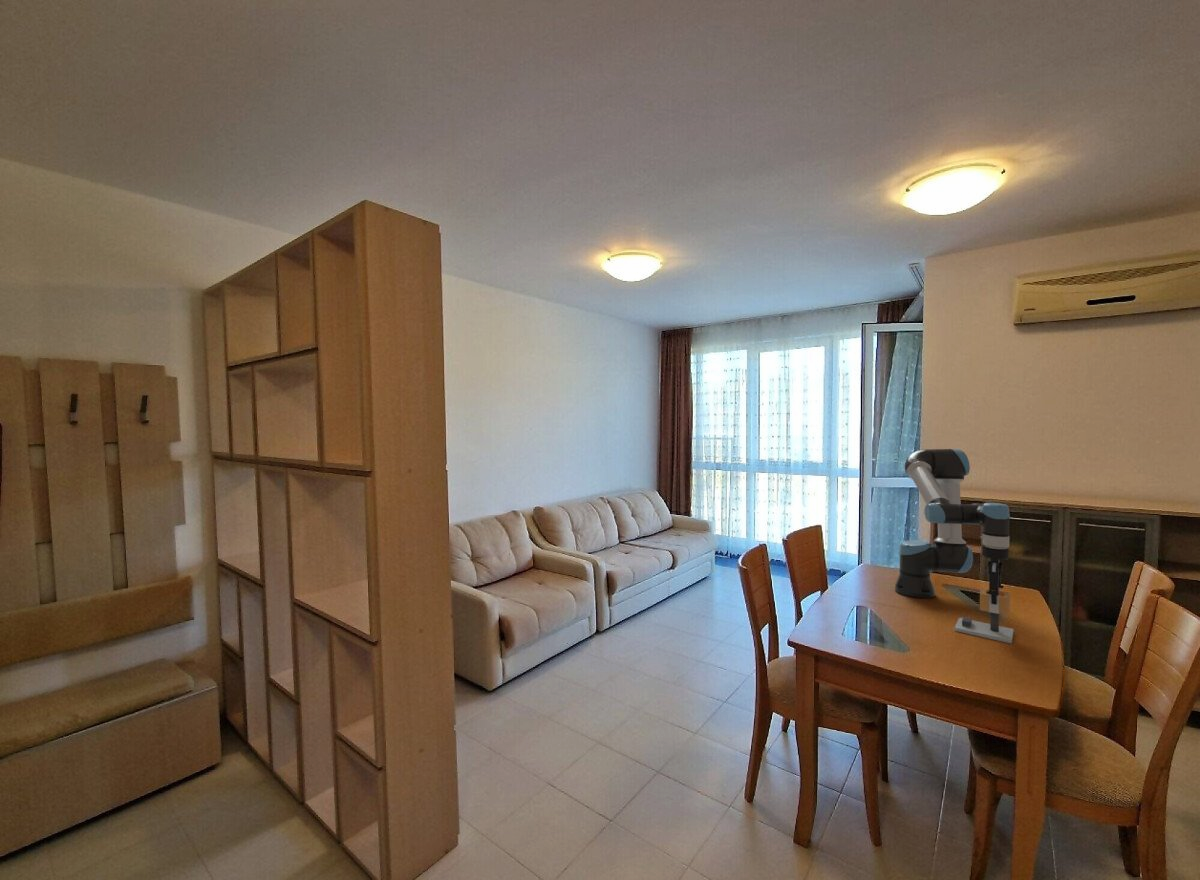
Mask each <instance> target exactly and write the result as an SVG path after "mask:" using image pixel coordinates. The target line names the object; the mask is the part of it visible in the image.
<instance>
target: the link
mask: <svg viewBox="0 0 1200 880" xmlns="http://www.w3.org/2000/svg"><path fill="white" fill-rule="evenodd" d="M987 592H989V588H983V587H981V589H980V593H979V610H980V611H983V612H988V613H990V612H989V594H987ZM1010 612H1011V592H1008V591H1002V590H1001V591H999V615H1004V616H1010Z"/></svg>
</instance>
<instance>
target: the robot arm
mask: <svg viewBox="0 0 1200 880" xmlns="http://www.w3.org/2000/svg"><path fill="white" fill-rule="evenodd" d="M970 470H971V464H970V460H969V458H968V456H967V454H966V452H965V451H963V450H961V449H954V448H944V449H943V448H934V449H933V448H931V449H928V448H927V449H926V448H921V449H919V450H916V451H913V452H912V453H911V454H910V455H909V456H908V457H907V458H906V460H905V463H904V472H905V474H906V476H908V478H909V479H910V480H912V481H913V482H914V485H915V486H916V488H917V490H918V491H919V493H920V496H921V497H922V499H923V500H924V503H925V506H924V510H923V511H924V512H923V513H924V517H925V518H924V519H925V520H926V521H927V522H928V523H934V524H937V537H935V538H934V539H933V543H934V544H933V543H931V542H930V541H929V540H926V539H911V540H910V539H909V540H904V541H901V543H900V544H899V551H898V554H899V574H898V577H897V579H896V582H895V584H894V591H895V592H896V593H898V594H900V595H902V596H906V597H910V598H916V599H932V598H934V597H935V596H936V590H935V586H934V585H933V582H932V578H931V572H942V573H943V572H944V573H954V574H956V573H960V574H961V573H968V571H970V569H971V568H972V566H973V562H974V556H973V555H974V554H973V550H972V548H971V547H970V546H969V545H967V541H965V539H963V538H962V537H963V533H962V532H963V531H962V530H963V529H962V525H977V526H978V525H979V526H982V527H981V528H982V531H981V533H982V535H980V536H979V537H980V539H982V542H981V543H982V545H983V546H981V549H982V550H981V555H982V556H983V557H984V558H987V559H990V560H988V562H987V568H988V575H989V580H988V581H989V582H988V583H989V586H988V589H989V592H987V594H989V612H988V613H990V612H992V613H997V614H999V591H1002V589H1004V585H1002V574H1003V565H1004V562H1002V561H1003V560H1008V559H1009V558H1010V549H1009V548H1010V517H1011V514H1010V507H1009V505H1007V504H1006V503H1000V502H985V503H980V502H979V503H977V502H976V503H972V504H966V503H965V504H962V503H961V500H962V499H961V483H962V482H963V481H964V480H965V477H966V476H968V475H969V473H970ZM999 615H1000V614H999Z"/></svg>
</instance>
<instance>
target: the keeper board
mask: <svg viewBox="0 0 1200 880" xmlns="http://www.w3.org/2000/svg"><path fill="white" fill-rule="evenodd" d="M989 613H990V614H989V615H990V617H989V618H990V620H989V621H990V622H989V623H987V622H983V621H978V620H977V621H976V620H973V618H972V617H969V616H963V617H958V620H957V622H956V624H955V625H954V631H955V632H959V633H964V634H968V635H971V636H977V637H981V638H985V639H988V640H989V639H990V640H993V641H994V640H995V641H998V642H999V641H1000V642H1003V643H1008V644H1011V645H1012V643H1013V639H1014V638H1013V637H1014V628H1011V627H1006V626H1001V625H1000V614H997V613H992V612H989Z"/></svg>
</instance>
